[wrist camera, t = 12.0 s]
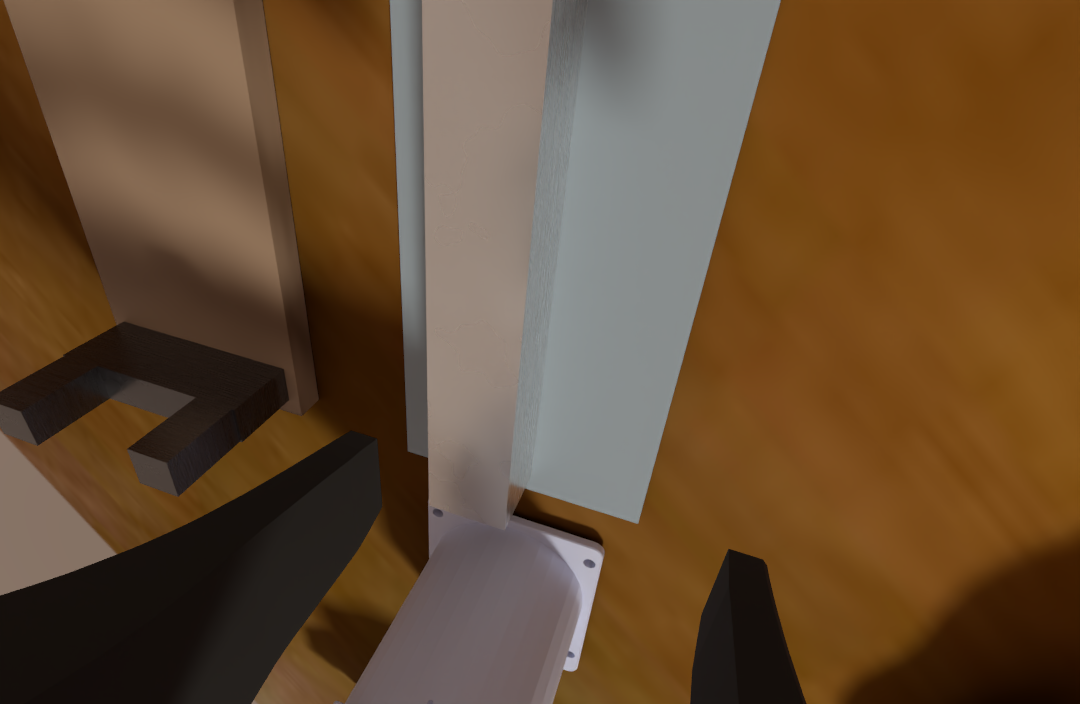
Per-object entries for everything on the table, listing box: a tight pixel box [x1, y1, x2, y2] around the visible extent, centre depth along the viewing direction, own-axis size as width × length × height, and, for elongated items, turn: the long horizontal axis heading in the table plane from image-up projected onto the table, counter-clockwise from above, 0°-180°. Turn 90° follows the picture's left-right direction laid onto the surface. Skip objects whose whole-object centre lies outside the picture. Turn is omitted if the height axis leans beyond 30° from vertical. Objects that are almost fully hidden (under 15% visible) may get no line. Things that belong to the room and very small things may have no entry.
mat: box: [390, 0, 781, 524], centre depth 19 cm, size 24×10×1 cm, turn 174°
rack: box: [0, 0, 319, 496], centre depth 19 cm, size 22×9×7 cm, turn 174°
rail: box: [422, 0, 588, 531], centre depth 17 cm, size 22×3×3 cm, turn 174°
